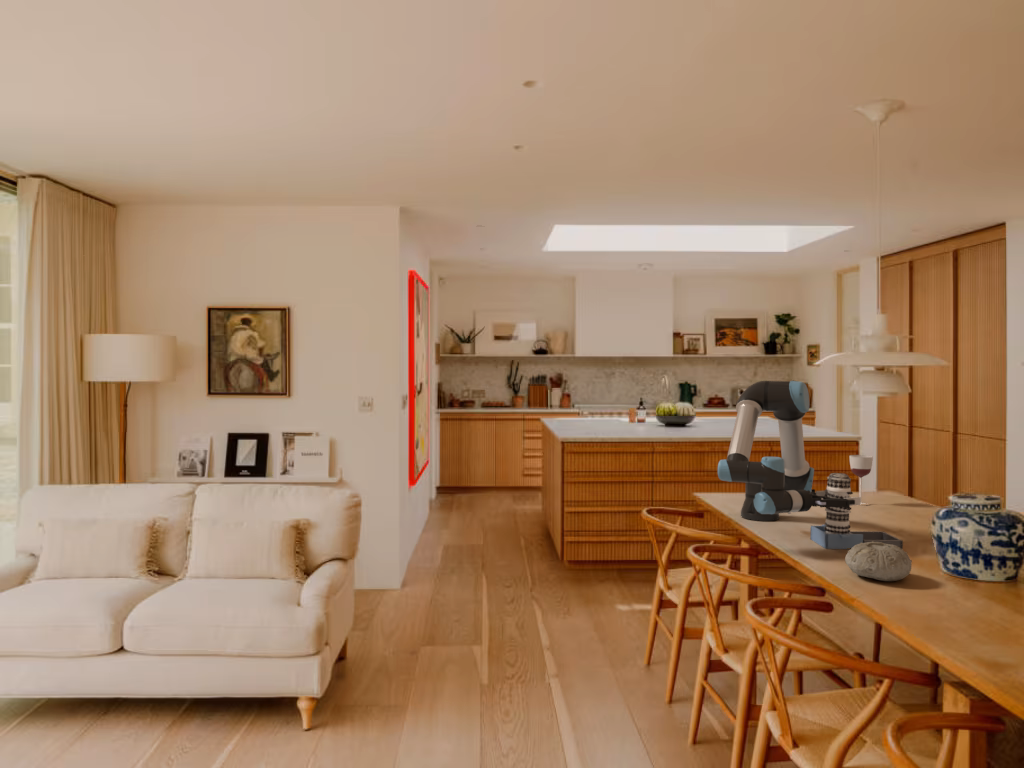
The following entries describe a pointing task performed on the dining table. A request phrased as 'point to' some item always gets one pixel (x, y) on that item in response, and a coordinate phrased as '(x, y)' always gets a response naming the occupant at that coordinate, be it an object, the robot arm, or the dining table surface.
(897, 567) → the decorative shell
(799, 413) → the robot arm
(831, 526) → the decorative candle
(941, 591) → the dining table surface
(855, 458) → the wineglass
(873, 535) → the charcoal holder
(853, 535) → the blue tray
